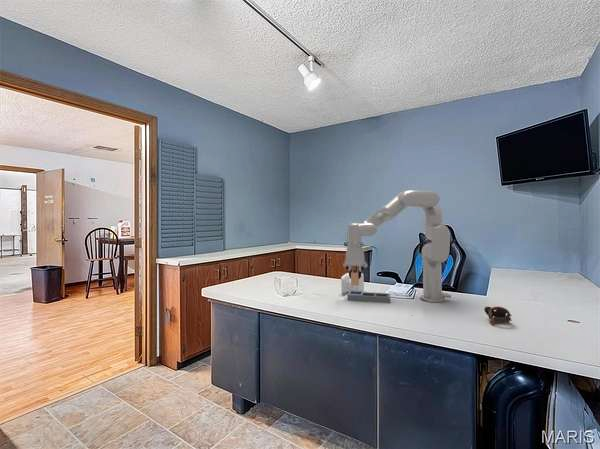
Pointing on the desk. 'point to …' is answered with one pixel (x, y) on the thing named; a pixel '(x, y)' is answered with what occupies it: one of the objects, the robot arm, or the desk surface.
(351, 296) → the grey compartment tray
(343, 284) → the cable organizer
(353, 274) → the plug
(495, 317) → the brown turtle figurine
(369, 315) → the desk surface
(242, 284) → the desk surface
